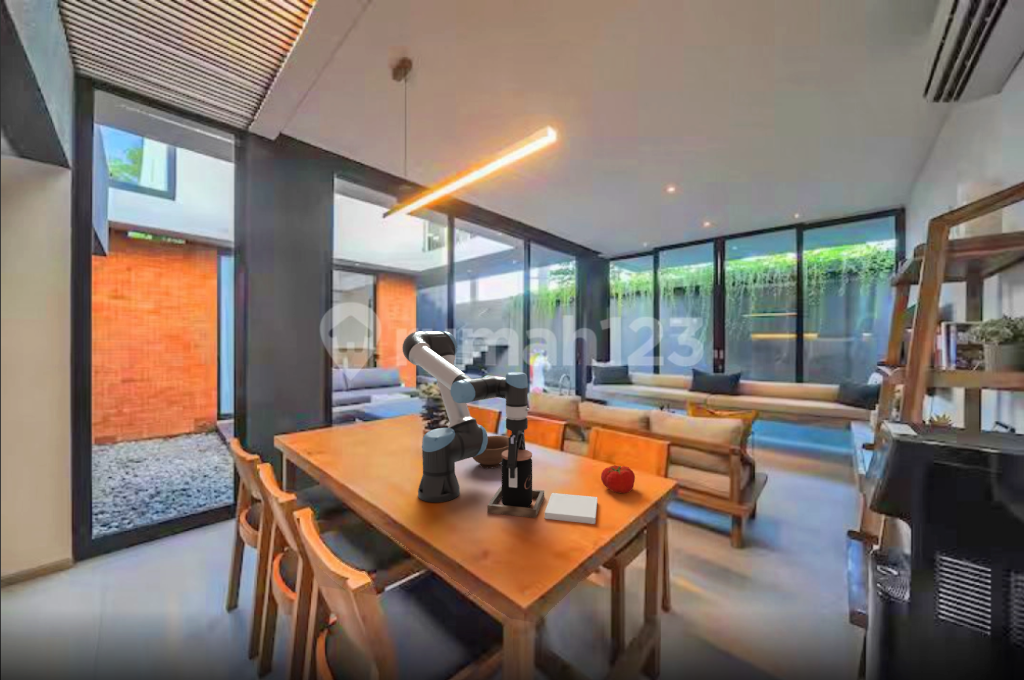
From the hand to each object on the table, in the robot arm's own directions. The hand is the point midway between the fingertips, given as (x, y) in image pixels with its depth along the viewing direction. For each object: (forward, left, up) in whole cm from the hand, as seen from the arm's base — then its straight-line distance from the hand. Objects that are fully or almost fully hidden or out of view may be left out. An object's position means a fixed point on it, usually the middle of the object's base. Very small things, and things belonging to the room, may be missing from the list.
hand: (516, 480), depth 143 cm
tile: (+19, 0, -8) cm, 21 cm away
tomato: (+34, +21, -9) cm, 41 cm away
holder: (0, 0, -8) cm, 8 cm away
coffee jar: (0, 0, -9) cm, 9 cm away
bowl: (-21, +37, -9) cm, 43 cm away
